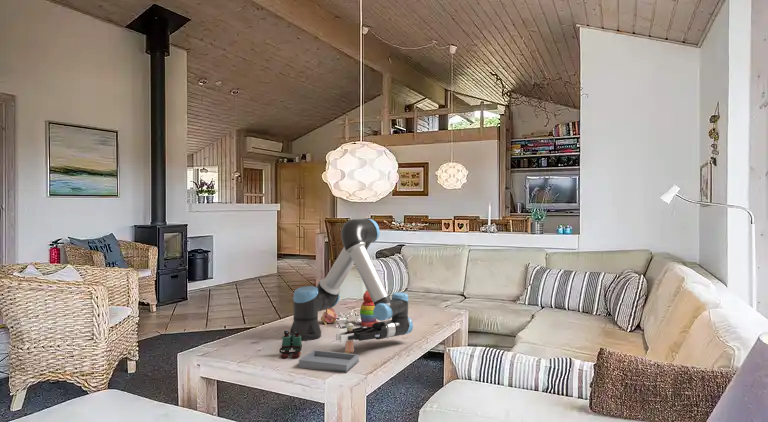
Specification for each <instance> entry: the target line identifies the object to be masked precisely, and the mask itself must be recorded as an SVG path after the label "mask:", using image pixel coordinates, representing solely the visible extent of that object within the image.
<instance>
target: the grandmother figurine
mask: <svg viewBox="0 0 768 422" xmlns="http://www.w3.org/2000/svg"><path fill="white" fill-rule="evenodd" d="M354 327H355V326H354V324H353V323H352V322H348V323H347V324H346V325H345V329H346V331H345V332H346V334H352V333H354V332H353V331H352V330H353V329H354ZM347 330H348V331H347ZM346 334H345V335H346ZM354 335H355V333H354ZM344 344H345V345H344V346H345V347H344V352H343V353H348V354H354V353H355V352H354V351H355V347H354V340H351V341H345V343H344Z"/></svg>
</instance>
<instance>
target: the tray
mask: <svg viewBox="0 0 768 422" xmlns="http://www.w3.org/2000/svg"><path fill="white" fill-rule="evenodd" d="M359 357H360V356H359V354H355V353H350V354H348V353H344V352H338V351H328V350H317V349H313V350H311V351H310V352H309V353H307V354H306V355H304V356H303V357H301V358H300V359H299V361H298V368H301V369H309V370H310V369H312V370H317V371H318V370H319V371H326V372H334V373H343V372H344V373H345V374H347V373H348V372H349V371H351V370H352V369H353V368H354V367H355V366H357V364H358V363H359V362H360V360H359V359H360V358H359ZM344 373H343V374H344Z"/></svg>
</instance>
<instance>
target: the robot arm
mask: <svg viewBox="0 0 768 422" xmlns="http://www.w3.org/2000/svg"><path fill="white" fill-rule="evenodd" d="M380 233H381V231H380V227H379V225H378V223H377V222H376V221H375V220H373V219H371V218H367V217H366V218H355V219H354V218H353V219H348V220H347V221H346V222H345V223H344V224H343V225H342V227H341V231H340V239H341V242H342V245H343V247H342V250H341V251H340V253H339V254H338V256H337V257H336V259H335V261H334V263H333V265H332V267H331V268H330V269H329V271H328V273H327V275H326V276H325V278H322V279H320V280H319V282H318V283H317V285H316V286H315V285H314V286H313V285H307V286H306V285H305V286H300V287H298V288H296V289H295V290H294V292H293V297H292V299H293V302H292V303H293V321H292V324H291V327H290V330H289V335H292V339H293V335H295V332H296V331H300V333H299V335H300V336H301V341H312V340H314V341H315V340H317V339H320V338H321V337H322V329H321V327H320V324H319V319H318V317H319V316H318V314H319V312H321V311H326V309H330V308H334V307H335V306H336V305H338V303H339V302H340V301H339V300H340V297H341V296H340V294H341V287H342V284H343V283H344V281H345V280H346V278H347V276H348V275H349V273H350V271H351V270H352V268H353V267H354V265H355V267H356V270H357V272H358V274H359V276H360V278H361V281H362V282H363V284H364V286H365V289H366V291H368V293H369V295H370V297H371V299H372V301H373V303H374V305H375V307H374V310H373V311H374V316H375V317H376V318H377V319H376V320H378V322H376V323H374V324H373V325H372V327H365V326H361V325H360V326H359V327H355V328H354V327H353V330H352V331H353V332H354V333H355V335H354V333H352V334H346V332H347V331H348V330H347V329H346V331H344V332H338V333H335V335H336V336H335V341H340V343H346V341H351V340H353V341H358V342H359V341H360V342H363V341H369V340H379V341H380V340H382V339H390V338H393V337H398V336H399V337H400V336H404V335H408V334H410V333H412V331H413V329H414V324H413V320H412V319H411V317H409V294H408V293H407V292H401V291H400V292H399V291H398V292H397V291H396V292H392V295H391V298H390V296H389V294H388V291H387V290H386V288H385V285H384V283H383V281H382V280H381V277H380V275H379V273H378V271H377V268H376V267H375V265H374V263H373V261H372V258H371V257H370V255H369V252H368V248H369V247H370V245H371V244H372V243H374V242H376V241H377V240H378V239H379V237H380V235H381V234H380ZM345 334H346V335H345Z"/></svg>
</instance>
